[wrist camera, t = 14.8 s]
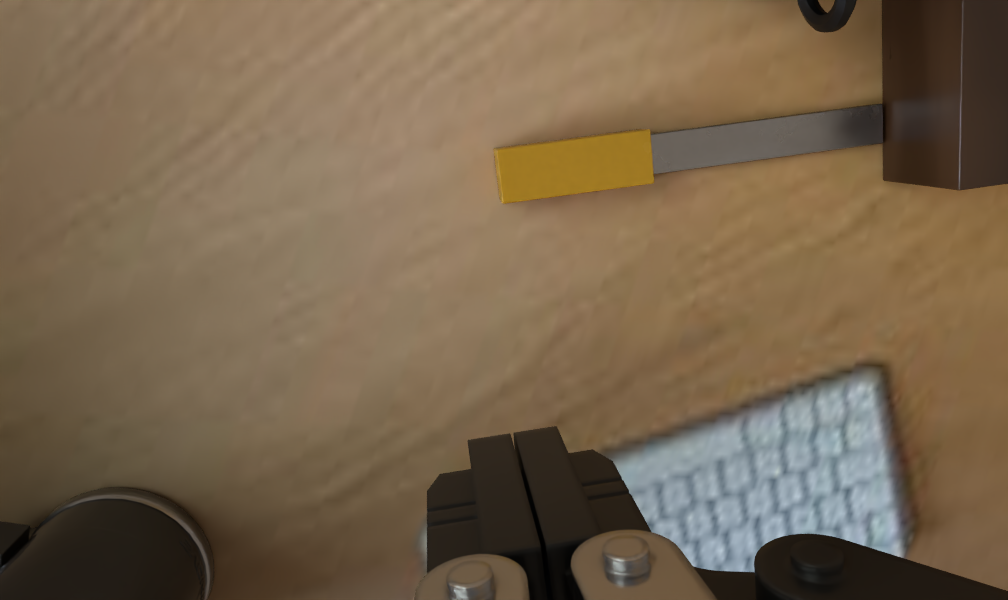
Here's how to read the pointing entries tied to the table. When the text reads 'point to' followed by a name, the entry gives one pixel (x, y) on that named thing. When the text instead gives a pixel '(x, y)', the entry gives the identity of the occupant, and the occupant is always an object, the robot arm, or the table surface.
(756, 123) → the letter opener
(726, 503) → the table surface
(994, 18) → the backstop
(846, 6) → the mug
